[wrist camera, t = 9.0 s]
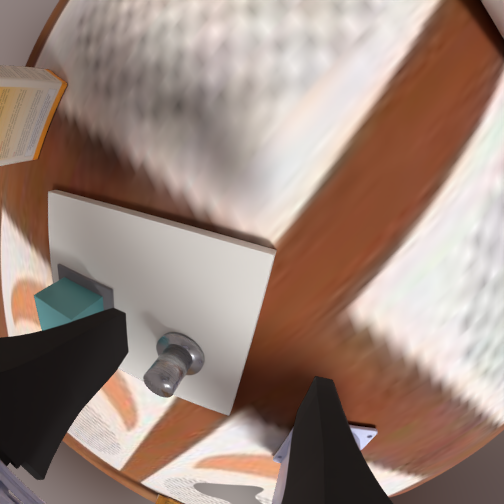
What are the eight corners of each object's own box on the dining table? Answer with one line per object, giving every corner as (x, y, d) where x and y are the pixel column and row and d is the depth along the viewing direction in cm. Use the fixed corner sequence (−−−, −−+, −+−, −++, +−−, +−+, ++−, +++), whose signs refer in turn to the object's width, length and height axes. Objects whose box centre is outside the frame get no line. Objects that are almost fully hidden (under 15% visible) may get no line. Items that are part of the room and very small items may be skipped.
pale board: (232, 408, 23) (229, 415, 22) (68, 330, 26) (62, 335, 25) (276, 250, 17) (274, 255, 16) (56, 189, 20) (48, 191, 19)
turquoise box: (106, 341, 22) (81, 365, 19) (70, 320, 23) (44, 340, 19) (102, 296, 20) (71, 319, 17) (64, 277, 21) (33, 295, 17)
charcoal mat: (117, 352, 23) (116, 353, 22) (67, 323, 24) (65, 324, 23) (113, 289, 20) (111, 290, 20) (59, 263, 21) (57, 264, 21)
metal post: (201, 377, 21) (182, 411, 17) (158, 360, 22) (135, 390, 18) (207, 343, 20) (185, 378, 16) (159, 324, 20) (132, 354, 16)
